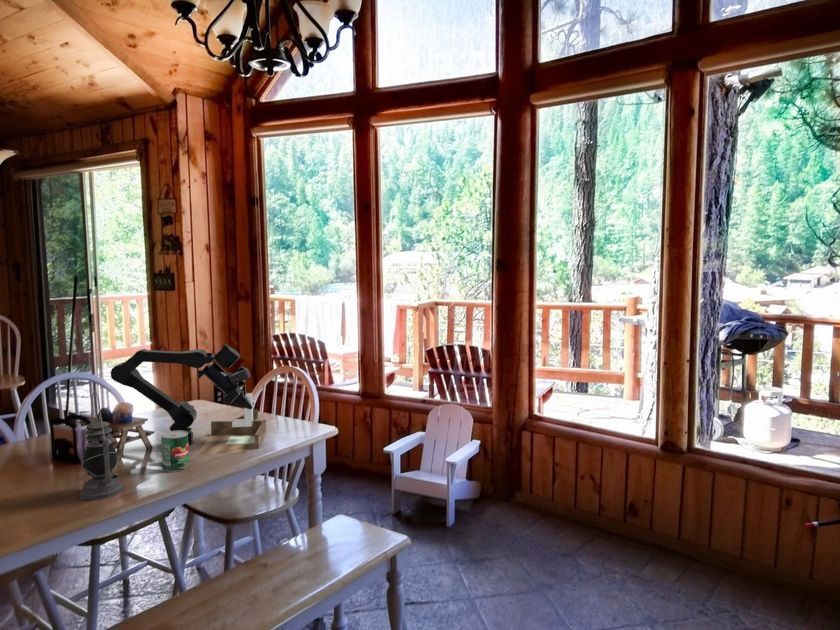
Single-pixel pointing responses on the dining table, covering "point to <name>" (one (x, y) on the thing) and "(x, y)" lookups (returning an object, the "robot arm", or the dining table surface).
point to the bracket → (245, 414)
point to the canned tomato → (174, 450)
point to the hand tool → (255, 415)
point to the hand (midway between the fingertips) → (252, 406)
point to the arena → (225, 430)
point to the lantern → (100, 461)
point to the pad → (241, 440)
